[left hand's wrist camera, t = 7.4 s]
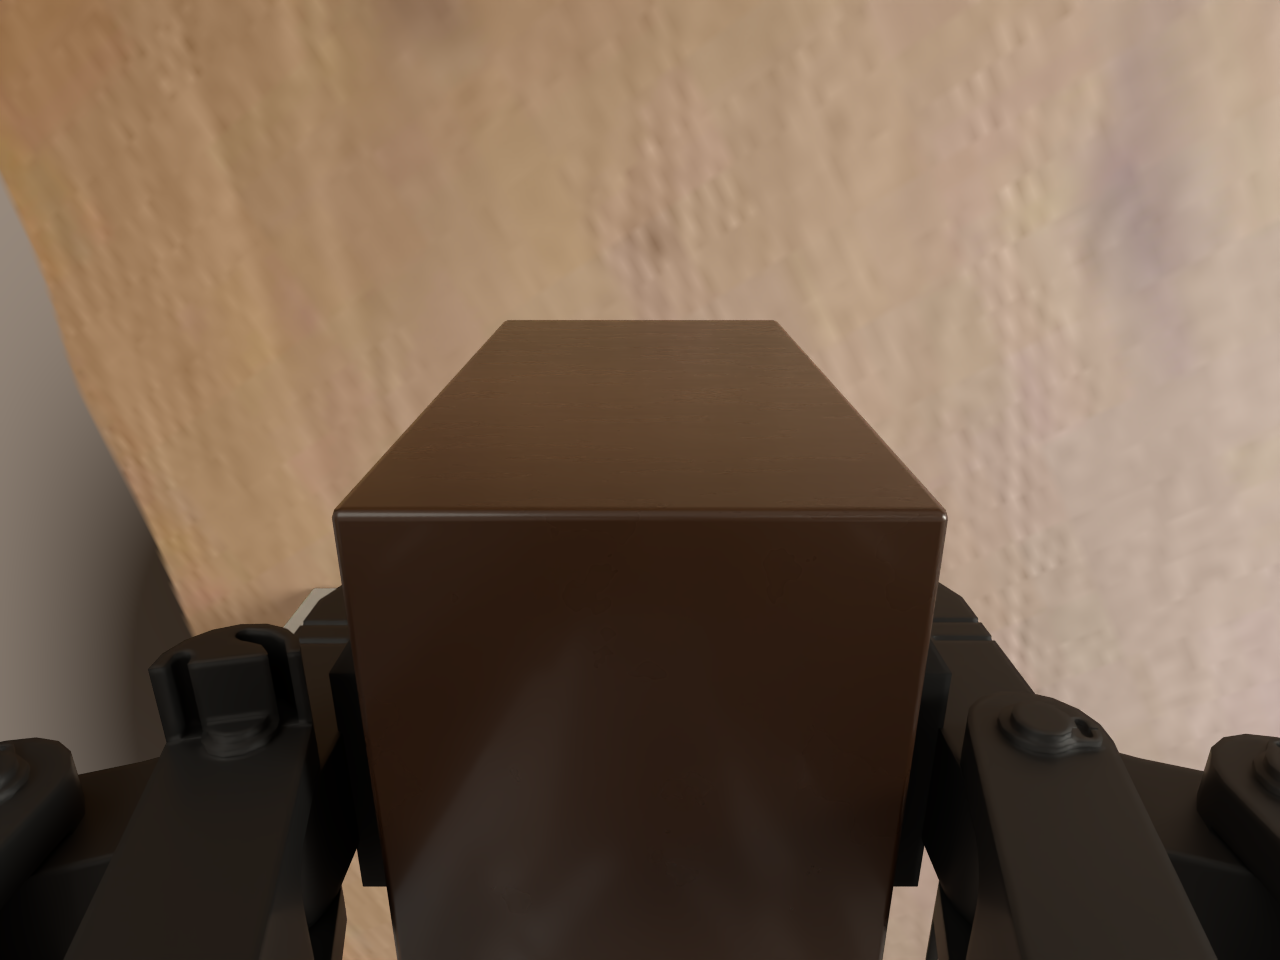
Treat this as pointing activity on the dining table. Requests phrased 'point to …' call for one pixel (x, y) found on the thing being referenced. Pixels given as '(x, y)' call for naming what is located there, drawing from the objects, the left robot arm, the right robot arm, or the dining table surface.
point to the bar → (639, 650)
